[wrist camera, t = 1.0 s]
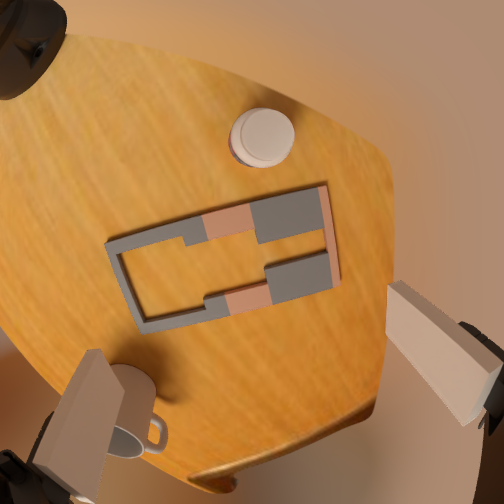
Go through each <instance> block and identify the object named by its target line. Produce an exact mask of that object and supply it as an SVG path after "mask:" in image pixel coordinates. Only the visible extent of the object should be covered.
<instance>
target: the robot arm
mask: <svg viewBox="0 0 504 504" xmlns="http://www.w3.org/2000/svg"><path fill="white" fill-rule="evenodd" d="M66 27H67V17H66V13H65V11H64V10H63V8H62V7H61V6H60V5H59V4H57V3H56V2H55V1H54V0H0V100H9V99H12V98H15V97H17V96H18V95H20V94H22V93H23V92H25V91H26V90H27V89H28V88H30V87H31V86H32V85H33V84H34V83H35V82H36V81H37V80H38V79H39V78H40V76H41V75H42V74H43V73H44V72H45V70H46V69H47V68H48V66H49V65H50V63H51V62H52V60H53V59H54V57H55V55H56V54H57V52H58V50H59V48H60V46H61V43H62V41H63V38H64V35H65V32H66ZM385 334H386V335H387V336H388V337H389V338H390V340H391V341H392V342H393V343H394V344H395V345H396V346H397V347H398V349H399V350H400V351H401V352H402V353H403V354H404V356H405V357H406V358H407V359H408V360H409V361H410V363H411V364H412V365H413V366H414V367H415V368H416V370H417V371H418V372H419V373H420V374H421V376H422V377H423V378H424V379H425V380H426V381H427V383H428V384H429V385H430V386H431V387H432V389H433V390H434V391H435V392H436V394H437V395H438V396H439V397H440V398H441V400H442V401H443V402H444V403H445V405H446V406H447V407H448V408H449V409H450V411H451V412H452V413H453V415H454V416H455V417H456V418H457V420H458V421H459V422H460V423H461V425H462V426H465V425H466V424H468V423H469V422H471V421H472V420H473V419H475V418H476V417H477V416H478V415H479V413H480V411H481V409H482V408H483V407H484V408H485V409H486V410H487V411H486V413H485V415H484V417H483V418H482V420H481V422H480V423H479V426H478V429H480V428H481V427H482V425H483V423H485V424H484V437H483V448H482V456H481V463H480V470H479V476H478V481H477V486H476V491H475V495H474V499H473V504H504V351H503V350H502V349H501V348H500V347H499V346H498V345H496V344H495V343H494V342H493V341H491V340H490V339H488V337H487V336H485V335H484V334H481V332H480V331H479V330H478V329H477V328H475V327H474V326H472V325H470V324H468V323H465V322H460V323H456V322H455V321H454V320H453V319H451V318H450V317H449V316H448V315H446V314H445V313H444V312H442V311H441V310H440V309H439V308H437V307H436V306H435V305H433V304H432V303H431V302H429V301H428V300H427V299H426V298H424V297H423V296H422V295H420V294H419V293H418V292H416V291H415V290H414V289H412V288H411V287H410V286H408V285H407V284H406V283H404V282H403V281H401V280H400V281H397V282H394V283H391V284H388V288H387V317H386V333H385ZM124 393H125V390H124V389H123V387H122V386H121V384H120V382H119V381H118V379H117V377H116V376H115V374H114V372H113V371H112V369H111V367H110V365H109V364H108V362H107V360H106V358H105V356H104V355H103V353H102V351H101V349H92V350H87V351H86V353H85V355H84V357H83V358H82V360H81V362H80V364H79V366H78V367H77V369H76V371H75V373H74V375H73V377H72V378H71V380H70V382H69V384H68V386H67V388H66V390H65V392H64V394H63V396H62V398H61V400H60V402H59V404H58V406H57V408H56V410H55V411H53V412H52V413H51V414H50V415H49V416H48V417H47V418H46V420H45V422H44V424H43V426H42V428H41V429H42V430H41V431H40V432H39V435H38V438H37V439H36V441H35V444H34V446H33V448H32V450H31V453H30V455H29V458H28V460H27V462H26V464H25V463H24V462H23V461H22V460H21V459H20V458H19V457H18V456H17V455H16V454H15V453H14V452H12V451H11V450H3V451H1V452H0V504H74V503H73V502H72V501H71V500H70V499H69V498H70V494H71V495H73V496H74V497H75V498H77V499H78V500H80V501H83V502H88V503H92V504H96V499H97V494H98V489H99V485H100V481H101V476H102V472H103V467H104V464H105V460H106V456H107V452H108V448H109V444H110V441H111V437H112V433H113V430H114V426H115V423H116V419H117V416H118V412H119V409H120V406H121V403H122V399H123V396H124Z"/></svg>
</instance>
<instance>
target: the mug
mask: <svg viewBox="0 0 504 504" xmlns="http://www.w3.org/2000/svg"><path fill="white" fill-rule="evenodd" d="M110 367H111V369H112V371H113V372H114V374H115V376H116V377H117V379H118V381H119V382H120V384H121V386H122V387H123V389H124V390H125V393H124V396H123V399H122V403H121V406H120V409H119V412H118V416H117V419H116V423H115V426H114V430H113V433H112V437H111V441H110V444H109V448H108V452H107V453H108V454H110V455H114V456H117V457H122V458H135V457H139V456H141V455H142V454H143V453H144V451H147V452H150V453H153V454H159V453H161V452H162V451H163V450H164V449H165V447H166V445H167V441H168V428H167V425H166V423H165V421H164V420H163V419H162V418H161V417H159V416H158V415H156V414H155V413H153V407H154V402H155V398H156V387H155V384H154V382H153V381H152V379H151V378H150V377H149V376H148V375H147V374H146V373H144V372H143V371H141V370H140V369H138V368H136V367H133V366H130V365H126V364H114V365H111V366H110ZM150 422H151V423H153V424H154V425H156V426H157V427H158V429H159V432H160V440H159V443H158V445H157V444H154V443H152V442H150V441H149V440H148V439H147V438H148V432H149V426H150Z"/></svg>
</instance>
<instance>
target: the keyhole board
mask: <svg viewBox="0 0 504 504" xmlns="http://www.w3.org/2000/svg"><path fill="white" fill-rule="evenodd" d="M321 228H323V233H324V240H325V246H326V251H324V252H320V253H316V254H313V255H309V256H305V257H301V258H298V259H294V260H290V261H286V262H282V263H279V264H275V265H271V266H267V267H264V271H265V276H266V280H267V281H266V282H262V283H258V284H254V285H250V286H247V287H243V288H239V289H235V290H231V291H227V292H223V293H219V294H215V295H211V296H206V297H203V301H204V304H205V307H202V308H198V309H194V310H189V311H185V312H180V313H176V314H172V315H167V316H162V317H158V318H153V319H149V320H145V319H144V316H143V314H142V312H141V309H140V307H139V305H138V302H137V300H136V298H135V295H134V293H133V290H132V288H131V285H130V283H129V280H128V278H127V275H126V272H125V270H124V267H123V264H122V262H121V259H120V256H119V253H122V252H126V251H129V250H132V249H136V248H139V247H143V246H146V245H150V244H153V243H157V242H160V241H164V240H168V239H171V238H175V237H178V236H183V239H184V243H185V246H190V245H194V244H197V243H201V242H205V241H209V240H213V239H217V238H220V237H224V236H228V235H232V234H236V233H240V232H244V231H248V230H252V229H255V233H256V237H257V241H258V244H262V243H266V242H270V241H274V240H278V239H282V238H286V237H290V236H294V235H298V234H301V233H305V232H309V231H313V230H317V229H321ZM104 245H105V248H106V251H107V254H108V257H109V259H110V262H111V265H112V268H113V270H114V273H115V275H116V278H117V280H118V283H119V285H120V288H121V290H122V293H123V295H124V298H125V300H126V302H127V305H128V307H129V309H130V311H131V314H132V316H133V318H134V320H135V322H136V325H137V327H138V329H139V331H140V333H141V335H144V334H149V333H154V332H159V331H164V330H169V329H174V328H179V327H183V326H188V325H192V324H197V323H201V322H206V321H210V320H214V319H219V318H223V317H227V316H231V315H235V314H239V313H243V312H247V311H251V310H255V309H259V308H263V307H267V306H270V305H274V304H278V303H282V302H285V301H289V300H293V299H296V298H300V297H303V296H307V295H310V294H314V293H317V292H320V291H324V290H327V289H331V288H334V287H337V286H340V285H341V284H340V275H339V266H338V258H337V250H336V243H335V236H334V229H333V222H332V216H331V209H330V203H329V198H328V192H327V186H326V185H322V186H317V187H312V188H308V189H303V190H299V191H294V192H290V193H285V194H281V195H277V196H272V197H268V198H264V199H260V200H255V201H251V202H247V203H243V204H239V205H235V206H231V207H227V208H223V209H220V210H216V211H212V212H208V213H204V214H201V215H197V216H193V217H190V218H186V219H182V220H179V221H175V222H172V223H168V224H165V225H161V226H158V227H154V228H151V229H148V230H144V231H141V232H138V233H134V234H131V235H128V236H124V237H121V238H118V239H115V240H112V241H109V242H106V243H105V244H104Z"/></svg>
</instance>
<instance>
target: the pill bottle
mask: <svg viewBox="0 0 504 504" xmlns="http://www.w3.org/2000/svg"><path fill="white" fill-rule="evenodd" d="M294 138H295V133H294V128H293V125H292V123H291V121H290V120H289V119H288V118H287V117H286V116H285V115H284V114H283V113H281V112H279V111H276V110H273V109H269V108H254V109H251V110H248V111H246V112H245V113H243V114H242V115H241V116H240V117H239V118H238V119H237V120H236V121H235V123H234V125H233V127H232V129H231V132H230V135H229V149H230V151H231V154H232V155H233V157H234V158H235V159H236V160H237V161H238V162H240V163H241V164H243V165H245V166H249V167H256V168H267V167H272V166H275V165H277V164H279V163H280V162H282V161H283V160H284V159H285V158H286V157H287V156H288V154H289V153H290V151H291V148H292V145H293V143H294Z"/></svg>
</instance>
